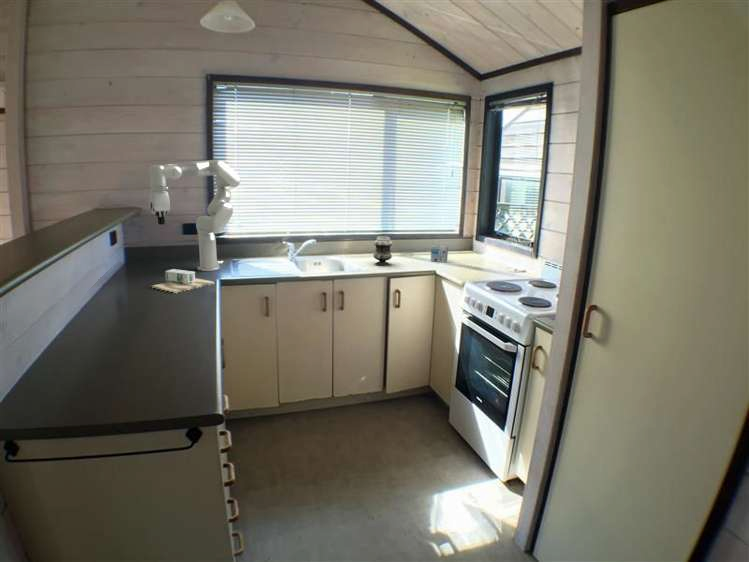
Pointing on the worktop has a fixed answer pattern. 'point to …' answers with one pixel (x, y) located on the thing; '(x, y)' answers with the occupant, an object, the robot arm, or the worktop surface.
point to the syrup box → (180, 276)
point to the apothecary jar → (382, 250)
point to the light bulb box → (439, 253)
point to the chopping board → (182, 285)
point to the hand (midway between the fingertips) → (161, 224)
